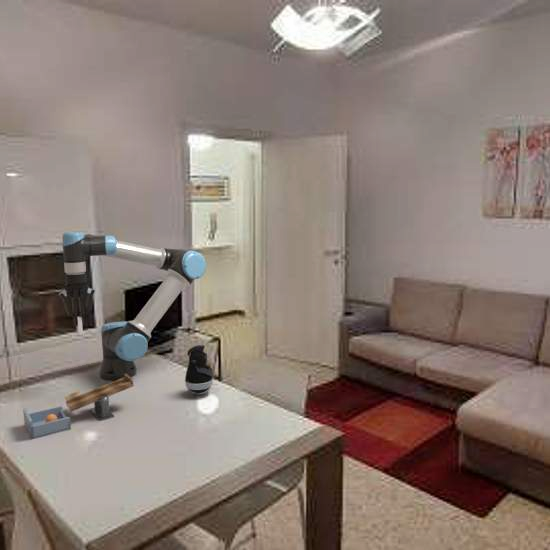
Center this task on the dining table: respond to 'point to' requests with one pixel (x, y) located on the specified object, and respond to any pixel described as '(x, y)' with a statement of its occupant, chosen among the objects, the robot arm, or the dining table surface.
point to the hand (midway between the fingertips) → (80, 333)
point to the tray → (40, 427)
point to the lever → (97, 393)
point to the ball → (51, 418)
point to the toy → (198, 371)
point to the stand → (102, 408)
